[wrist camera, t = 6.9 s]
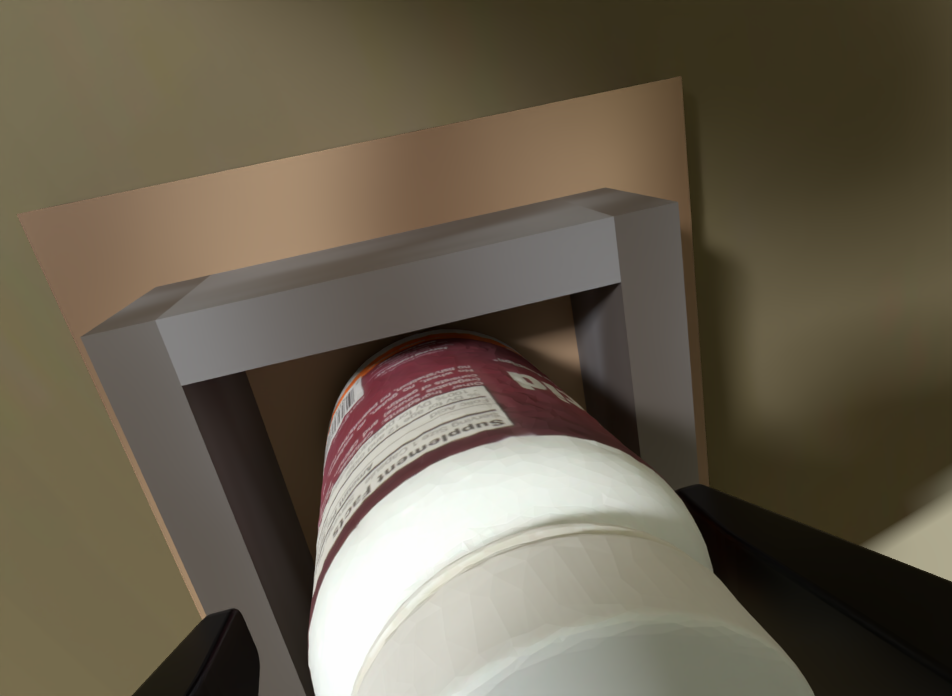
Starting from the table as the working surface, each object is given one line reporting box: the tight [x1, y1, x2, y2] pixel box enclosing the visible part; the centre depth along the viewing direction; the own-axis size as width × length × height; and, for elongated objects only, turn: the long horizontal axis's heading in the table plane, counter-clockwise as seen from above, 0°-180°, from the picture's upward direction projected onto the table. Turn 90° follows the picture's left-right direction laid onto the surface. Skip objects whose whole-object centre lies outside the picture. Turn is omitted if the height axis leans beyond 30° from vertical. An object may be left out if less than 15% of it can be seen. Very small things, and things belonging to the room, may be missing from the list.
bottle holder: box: [17, 76, 709, 696], centre depth 12 cm, size 12×12×4 cm
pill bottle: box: [308, 329, 815, 696], centre depth 9 cm, size 5×5×8 cm
